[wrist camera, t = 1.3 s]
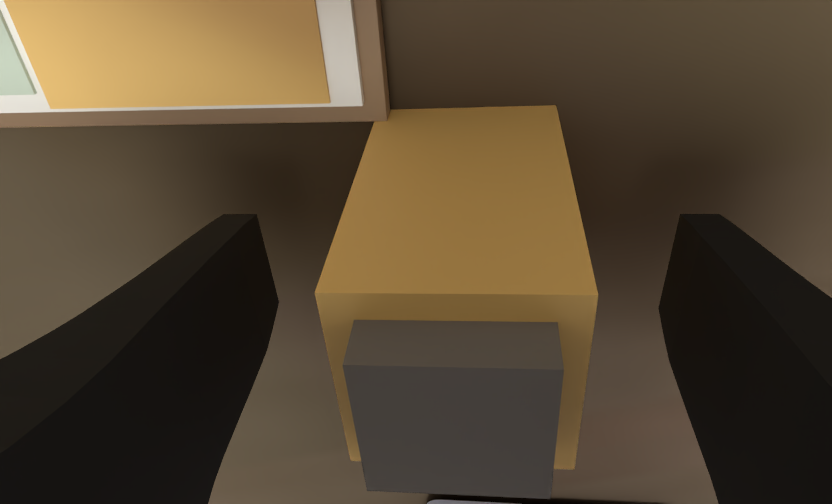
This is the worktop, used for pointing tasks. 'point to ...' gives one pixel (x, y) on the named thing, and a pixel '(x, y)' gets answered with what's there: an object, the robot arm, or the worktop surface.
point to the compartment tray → (191, 62)
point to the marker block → (461, 304)
